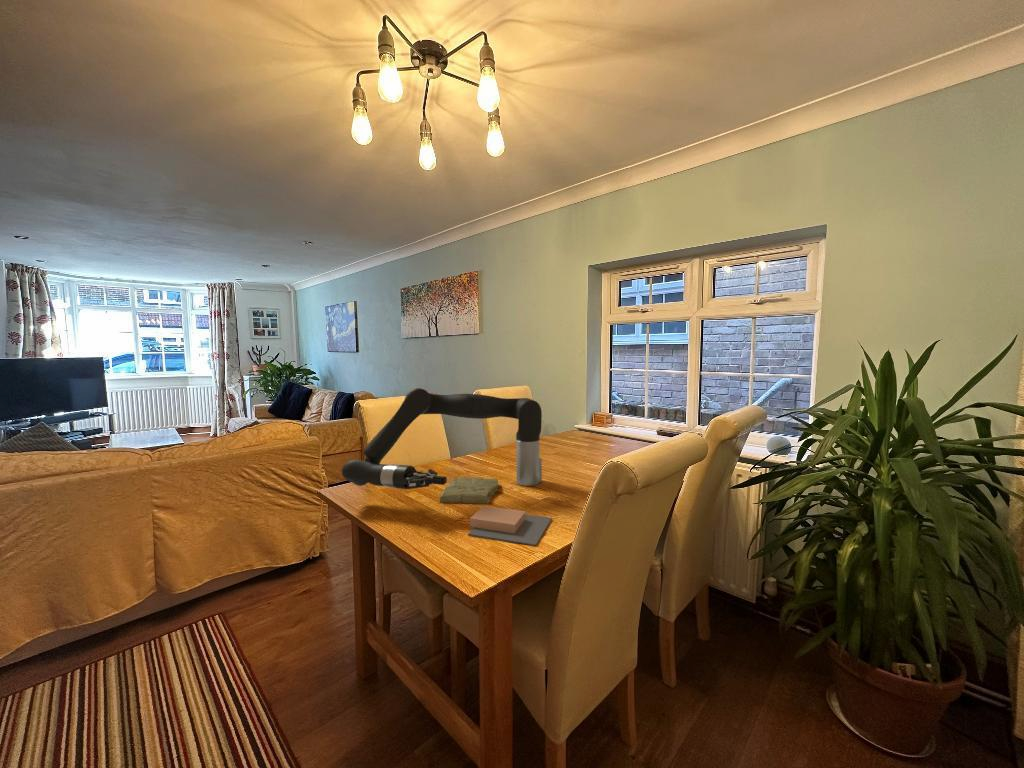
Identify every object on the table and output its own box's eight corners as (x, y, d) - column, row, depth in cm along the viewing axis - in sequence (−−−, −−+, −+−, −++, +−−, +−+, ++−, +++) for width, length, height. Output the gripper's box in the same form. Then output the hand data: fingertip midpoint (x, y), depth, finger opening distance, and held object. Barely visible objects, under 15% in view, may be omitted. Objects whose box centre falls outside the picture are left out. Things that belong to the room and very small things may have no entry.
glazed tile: (469, 518, 118) (515, 524, 113) (483, 505, 128) (525, 511, 123) (470, 527, 118) (515, 534, 114) (483, 514, 128) (525, 519, 123)
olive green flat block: (439, 503, 139) (439, 493, 139) (453, 484, 159) (453, 475, 159) (492, 505, 137) (492, 495, 137) (500, 485, 157) (500, 476, 157)
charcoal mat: (467, 535, 114) (467, 533, 114) (491, 511, 131) (491, 509, 131) (535, 546, 108) (535, 544, 108) (551, 519, 124) (551, 517, 124)
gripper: (385, 471, 125) (434, 475, 119) (409, 459, 137) (454, 463, 132) (386, 494, 126) (435, 500, 120) (410, 481, 138) (455, 485, 132)
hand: (445, 480), depth 126 cm, fingers closed
